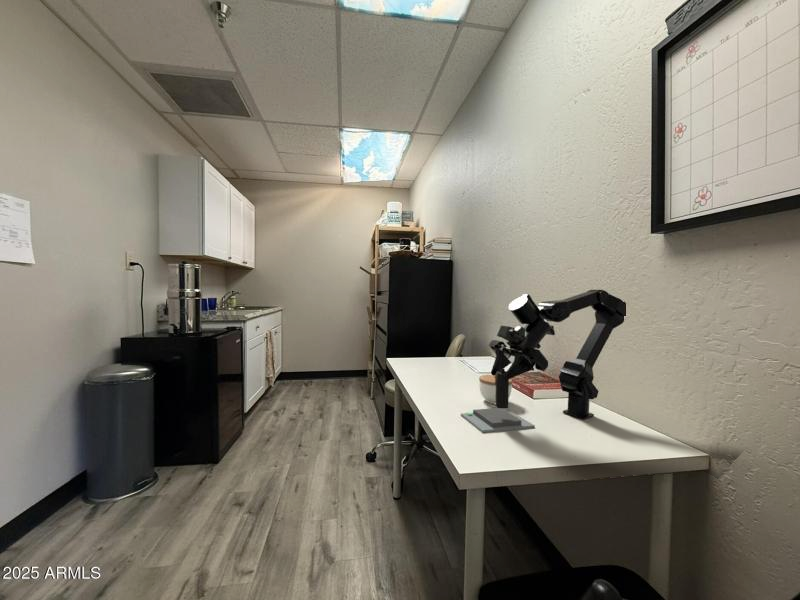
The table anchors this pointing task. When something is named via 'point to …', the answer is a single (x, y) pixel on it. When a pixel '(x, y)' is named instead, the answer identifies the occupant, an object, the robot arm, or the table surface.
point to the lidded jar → (490, 387)
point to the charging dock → (496, 420)
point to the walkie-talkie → (501, 386)
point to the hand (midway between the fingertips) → (498, 376)
